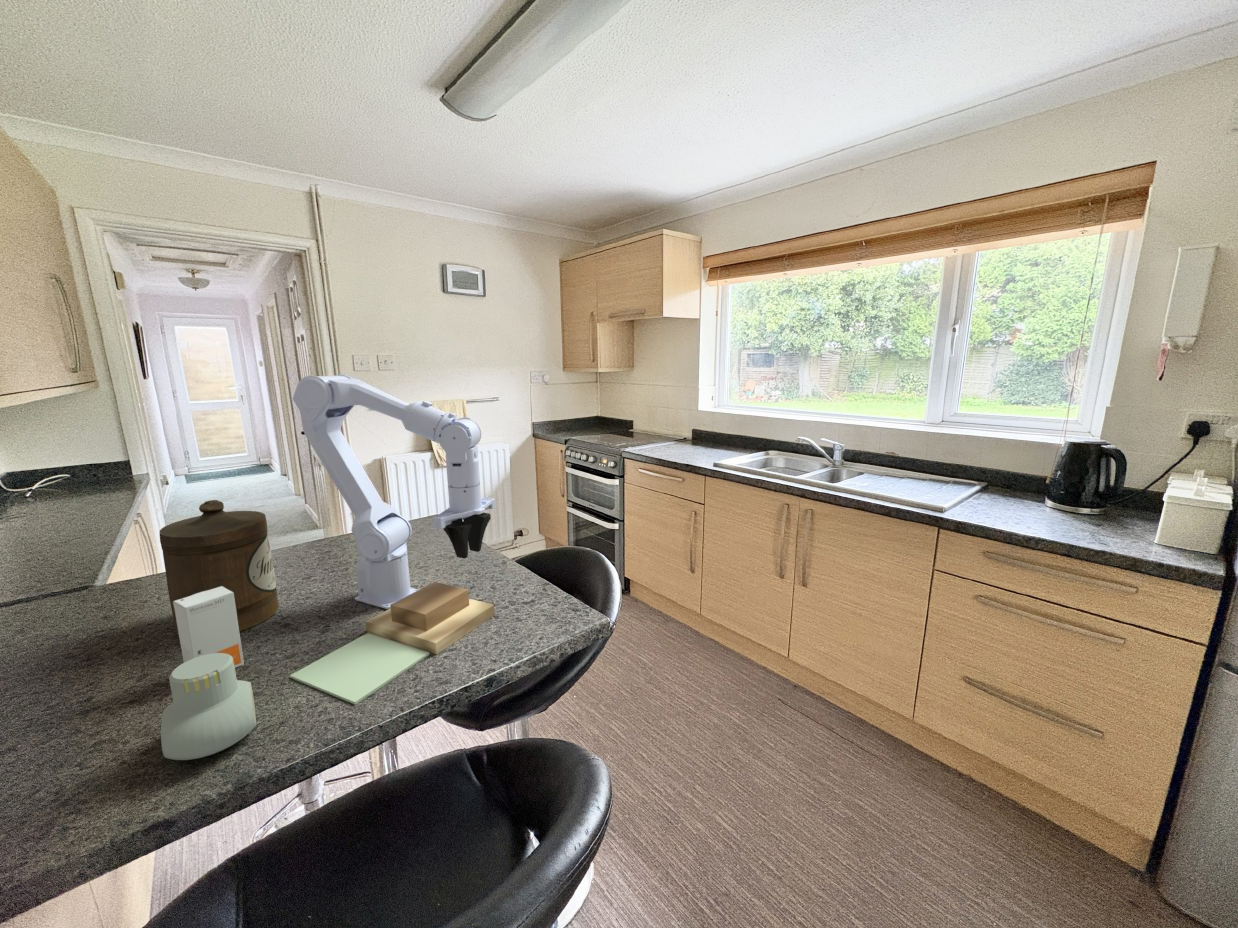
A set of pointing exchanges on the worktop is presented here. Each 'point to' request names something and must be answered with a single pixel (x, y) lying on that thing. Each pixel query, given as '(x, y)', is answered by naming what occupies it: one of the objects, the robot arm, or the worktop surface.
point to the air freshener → (206, 708)
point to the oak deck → (437, 635)
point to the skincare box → (209, 625)
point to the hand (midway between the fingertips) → (468, 553)
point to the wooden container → (222, 560)
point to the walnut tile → (429, 606)
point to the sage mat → (360, 667)
